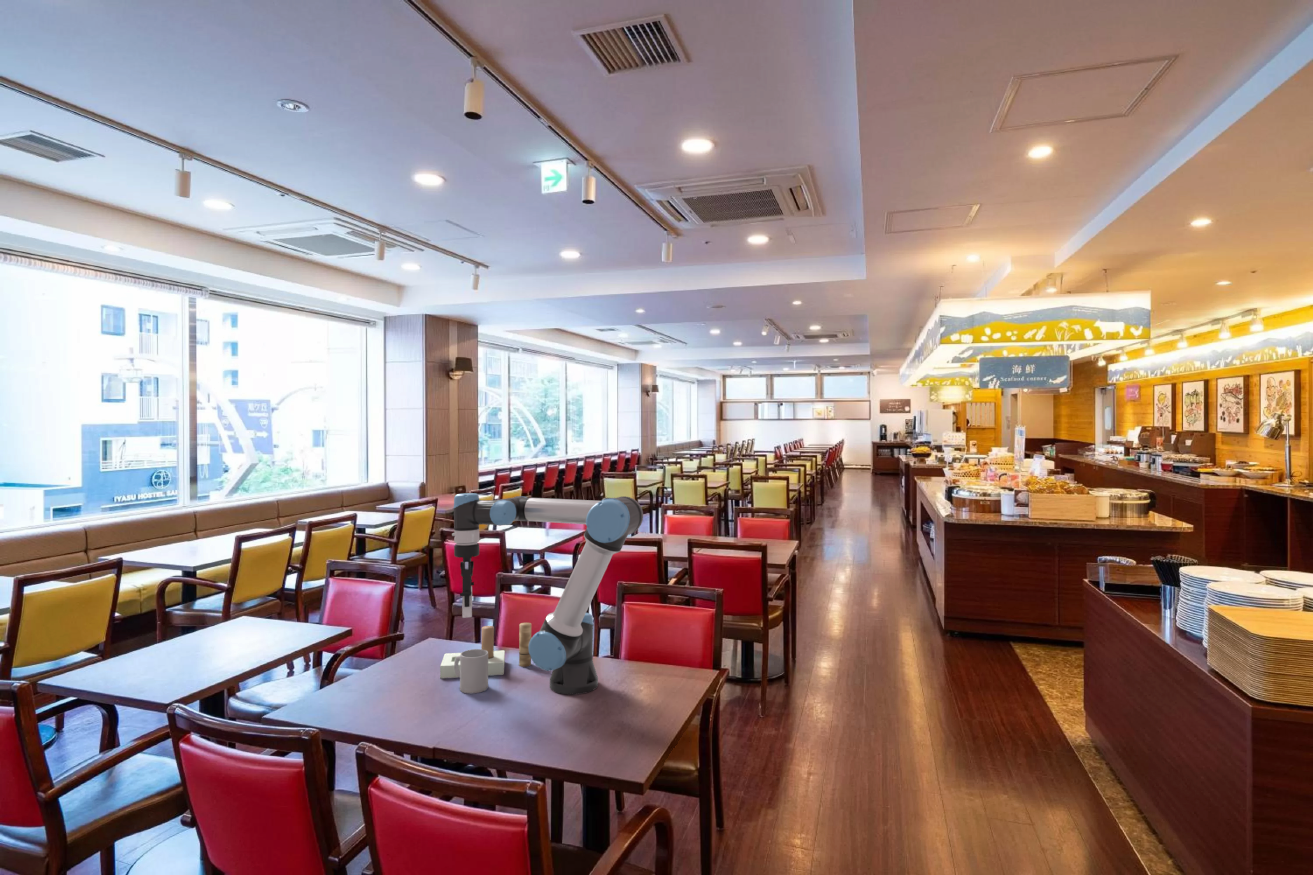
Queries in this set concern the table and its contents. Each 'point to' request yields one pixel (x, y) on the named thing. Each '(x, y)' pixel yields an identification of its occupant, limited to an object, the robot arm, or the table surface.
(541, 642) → the robot arm
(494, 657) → the cream base with post
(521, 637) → the oak leg
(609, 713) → the table surface
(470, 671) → the mug
